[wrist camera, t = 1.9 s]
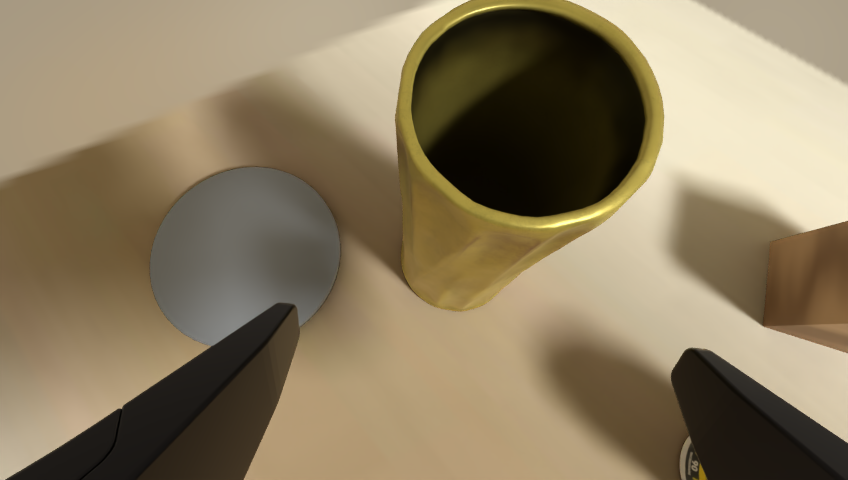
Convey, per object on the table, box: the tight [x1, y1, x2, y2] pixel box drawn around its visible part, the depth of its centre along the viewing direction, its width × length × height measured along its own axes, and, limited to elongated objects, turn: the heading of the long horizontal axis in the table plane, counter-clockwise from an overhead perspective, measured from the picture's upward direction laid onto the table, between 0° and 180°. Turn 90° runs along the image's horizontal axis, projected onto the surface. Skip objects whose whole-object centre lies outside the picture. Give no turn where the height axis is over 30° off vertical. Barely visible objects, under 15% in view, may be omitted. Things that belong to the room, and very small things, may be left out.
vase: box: [395, 0, 664, 311], centre depth 14 cm, size 6×6×14 cm
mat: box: [150, 167, 341, 346], centre depth 20 cm, size 10×10×1 cm
